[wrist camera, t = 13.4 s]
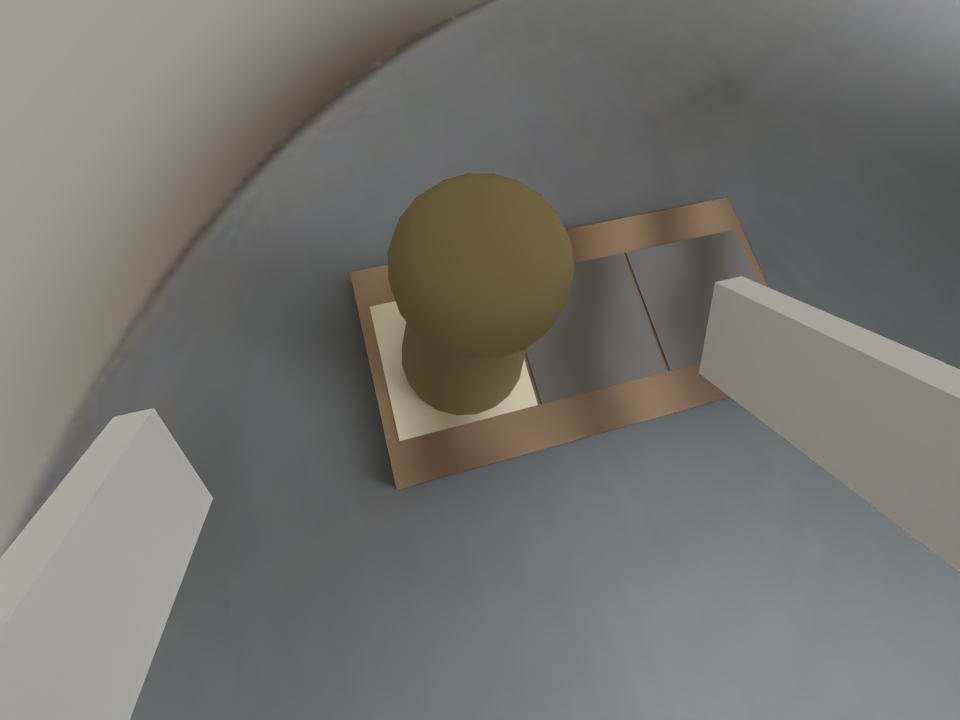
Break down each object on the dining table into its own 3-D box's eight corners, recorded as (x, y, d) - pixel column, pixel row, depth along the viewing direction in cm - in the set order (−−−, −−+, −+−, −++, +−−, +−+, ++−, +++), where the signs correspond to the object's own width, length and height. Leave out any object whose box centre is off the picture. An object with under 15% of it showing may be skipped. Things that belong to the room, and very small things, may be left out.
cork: (413, 427, 20) (383, 378, 9) (391, 308, 21) (345, 147, 11) (536, 401, 21) (637, 330, 10) (508, 288, 22) (571, 122, 12)
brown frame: (715, 209, 26) (729, 196, 25) (790, 380, 24) (810, 374, 23) (354, 282, 23) (349, 271, 22) (399, 489, 21) (396, 490, 19)
